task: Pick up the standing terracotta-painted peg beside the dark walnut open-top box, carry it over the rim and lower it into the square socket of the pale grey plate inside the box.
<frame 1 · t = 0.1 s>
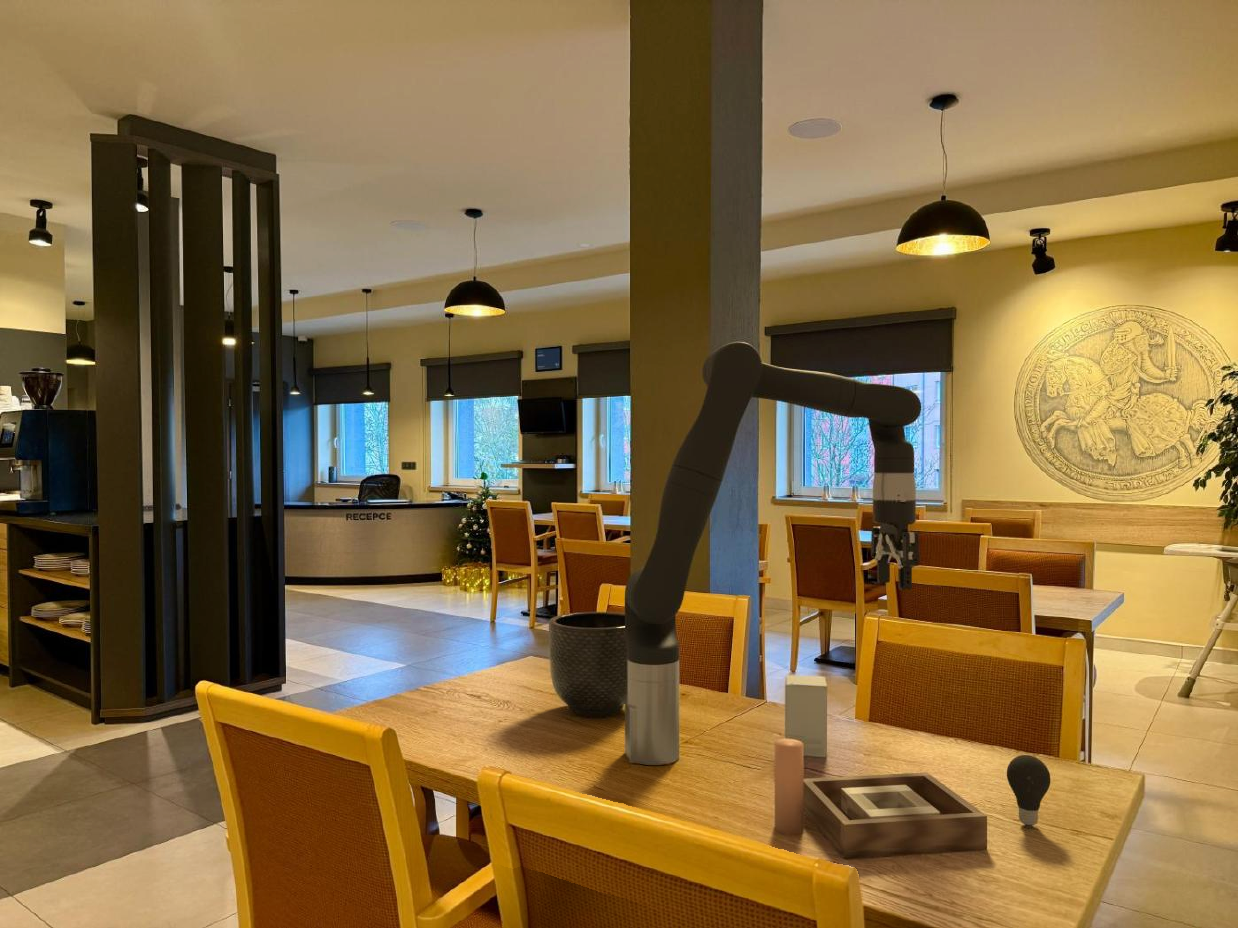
hand: (894, 585, 153), 29 cm above the table, fingers open, 8 cm apart
supplement box: (805, 750, 151), on the table
peg: (788, 827, 118), on the table
planter: (595, 711, 175), on the table
light bulb: (1028, 827, 119), on the table
box: (889, 828, 118), on the table
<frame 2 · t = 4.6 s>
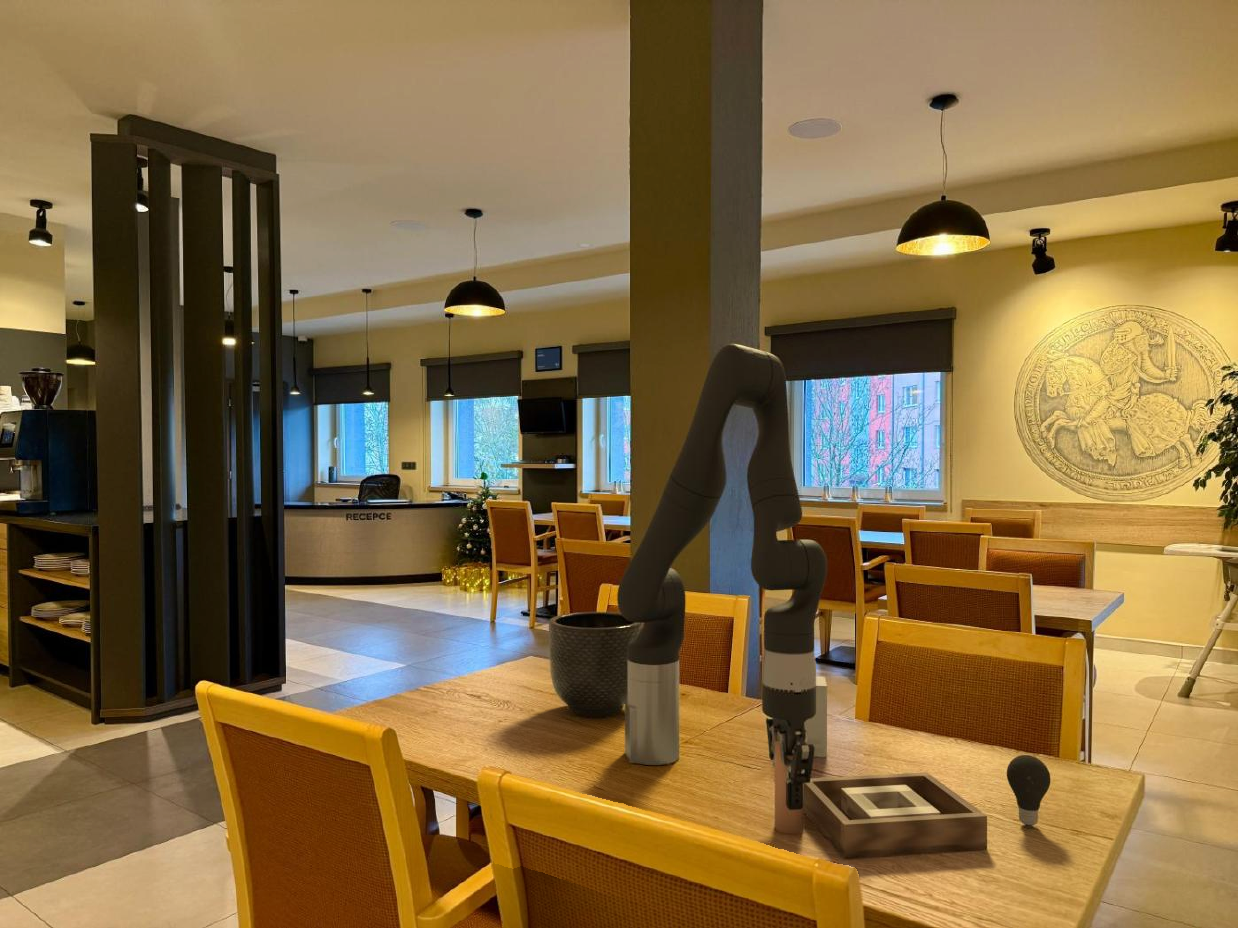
hand: (789, 801, 118), 4 cm above the table, fingers closed on peg, 4 cm apart
peg: (788, 827, 118), on the table, touching gripper
everything else where it was.
when the fingers open (6 cm above the table, at t = 8.7 s): peg drops 1 cm, resting on box.
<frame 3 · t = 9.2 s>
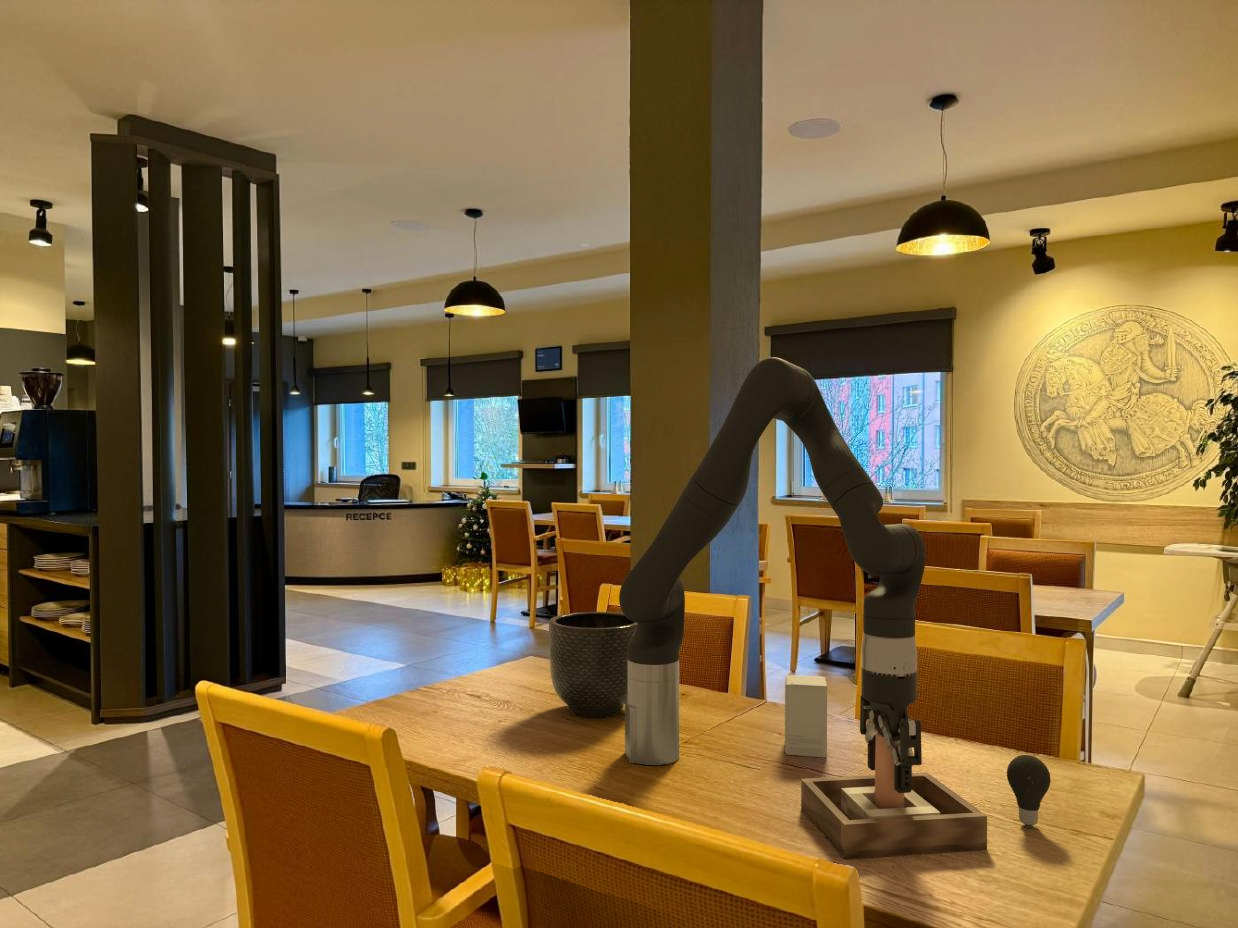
hand: (889, 780, 118), 7 cm above the table, fingers open, 8 cm apart
peg: (888, 820, 118), point 1 cm above the table, touching box
everything else where it was.
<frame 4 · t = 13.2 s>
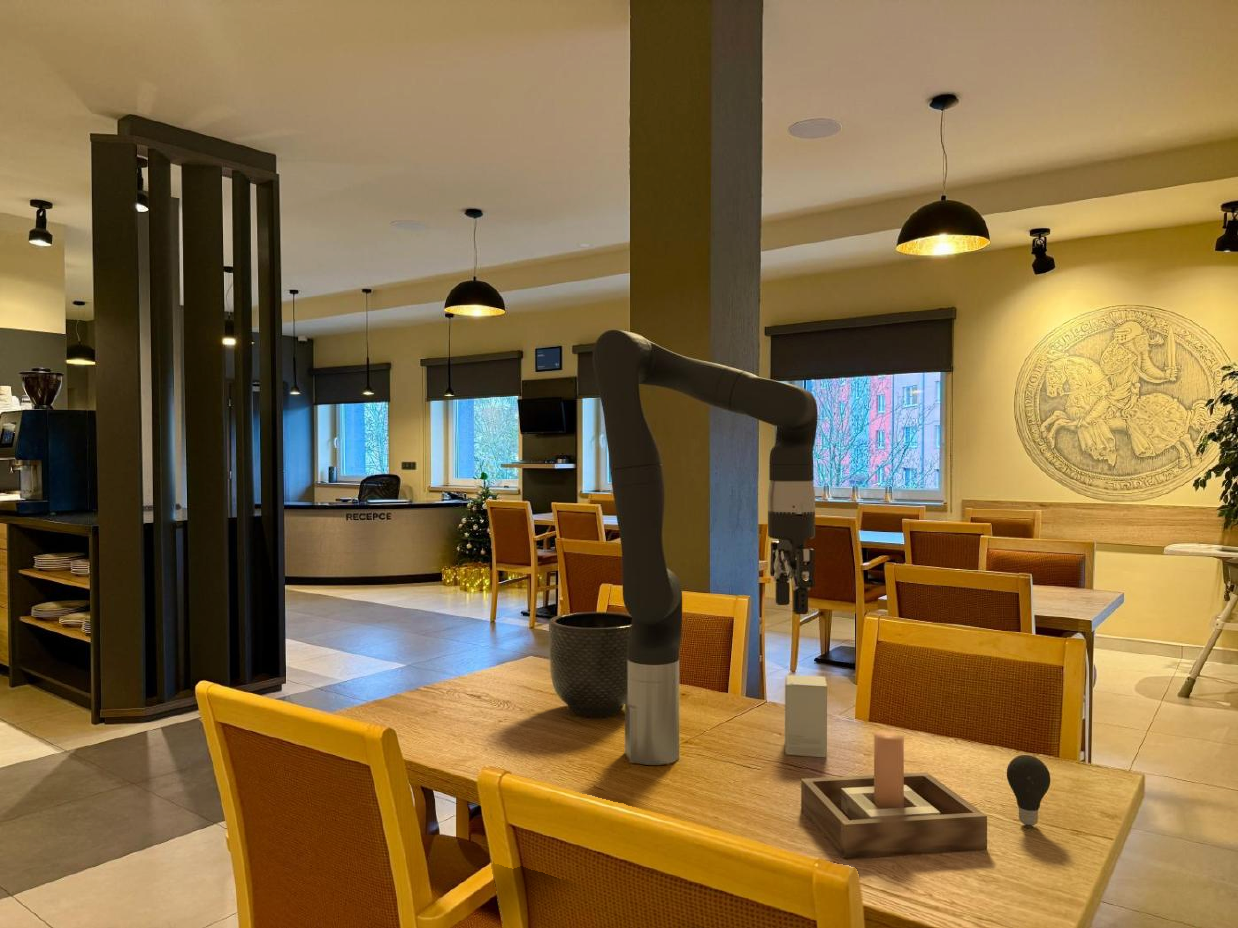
hand: (791, 609, 135), 28 cm above the table, fingers open, 8 cm apart
nothing on the table moved.
at the end: peg 0.1 cm off-centre on the box, point 1.0 cm above the box's base; peg tilted 0°; the gripper is holding nothing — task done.
